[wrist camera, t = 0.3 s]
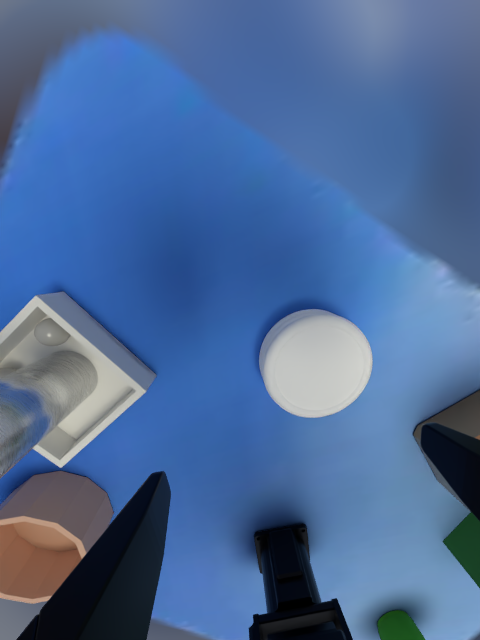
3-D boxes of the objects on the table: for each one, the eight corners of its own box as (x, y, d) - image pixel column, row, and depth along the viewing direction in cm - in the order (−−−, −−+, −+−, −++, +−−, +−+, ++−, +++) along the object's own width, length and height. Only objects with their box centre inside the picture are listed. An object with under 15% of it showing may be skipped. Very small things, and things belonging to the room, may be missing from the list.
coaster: (314, 286, 21) (331, 290, 18) (371, 357, 23) (396, 372, 20) (238, 354, 22) (240, 369, 19) (298, 416, 25) (310, 439, 21)
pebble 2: (80, 338, 20) (62, 348, 18) (54, 342, 20) (31, 352, 18) (72, 313, 20) (52, 319, 17) (45, 317, 20) (21, 323, 17)
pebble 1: (33, 384, 21) (9, 399, 19) (7, 388, 21) (-20, 403, 19) (24, 361, 20) (-2, 373, 18) (-3, 365, 20) (-32, 377, 18)
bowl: (122, 537, 26) (101, 591, 22) (31, 553, 26) (-8, 610, 22) (97, 464, 24) (68, 508, 20) (-4, 481, 24) (-56, 528, 19)
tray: (156, 375, 22) (146, 391, 19) (81, 443, 23) (60, 468, 20) (63, 291, 20) (35, 295, 17) (-15, 371, 21) (-54, 388, 18)
